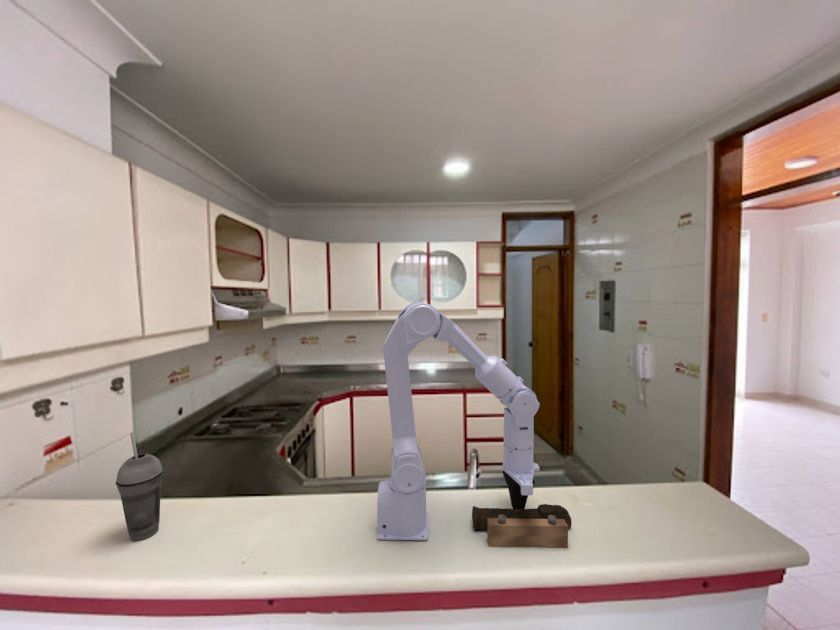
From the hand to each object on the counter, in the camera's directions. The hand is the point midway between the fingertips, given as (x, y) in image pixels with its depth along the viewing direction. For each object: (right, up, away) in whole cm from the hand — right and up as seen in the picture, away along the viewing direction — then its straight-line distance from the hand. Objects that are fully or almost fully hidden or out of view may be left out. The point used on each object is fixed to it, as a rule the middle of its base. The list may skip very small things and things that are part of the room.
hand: (517, 509), depth 72 cm
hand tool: (0, -3, -2) cm, 3 cm away
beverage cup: (-73, -3, -3) cm, 73 cm away
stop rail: (0, -2, -7) cm, 7 cm away
